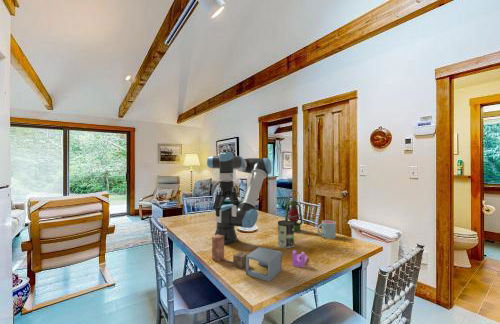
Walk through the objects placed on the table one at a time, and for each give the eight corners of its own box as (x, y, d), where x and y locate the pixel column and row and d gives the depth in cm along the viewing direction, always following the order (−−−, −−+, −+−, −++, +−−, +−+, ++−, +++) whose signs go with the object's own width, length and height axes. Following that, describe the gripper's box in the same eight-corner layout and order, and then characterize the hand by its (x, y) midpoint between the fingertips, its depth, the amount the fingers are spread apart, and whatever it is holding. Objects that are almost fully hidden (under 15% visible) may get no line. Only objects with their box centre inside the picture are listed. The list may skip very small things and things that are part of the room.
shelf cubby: (246, 274, 103) (246, 255, 103) (259, 263, 114) (259, 246, 114) (269, 281, 97) (269, 262, 97) (281, 269, 108) (281, 251, 108)
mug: (329, 233, 163) (329, 219, 163) (338, 237, 154) (338, 223, 154) (313, 235, 159) (313, 221, 159) (321, 239, 150) (321, 224, 150)
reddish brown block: (211, 259, 119) (211, 236, 119) (217, 256, 123) (217, 234, 123) (241, 268, 109) (241, 243, 109) (247, 264, 113) (247, 240, 113)
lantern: (282, 230, 169) (282, 190, 169) (287, 227, 178) (287, 189, 178) (300, 233, 162) (300, 192, 162) (304, 230, 171) (305, 190, 171)
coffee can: (294, 242, 144) (294, 220, 144) (294, 248, 134) (294, 225, 134) (278, 241, 147) (278, 219, 147) (277, 247, 136) (277, 223, 136)
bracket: (303, 268, 110) (303, 253, 110) (292, 265, 113) (292, 251, 113) (308, 257, 122) (308, 244, 122) (297, 255, 124) (298, 243, 124)
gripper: (216, 183, 111) (217, 226, 111) (244, 178, 132) (244, 214, 132) (205, 182, 115) (205, 223, 115) (234, 178, 136) (234, 213, 136)
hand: (226, 219), depth 124 cm, fingers open, 13 cm apart
